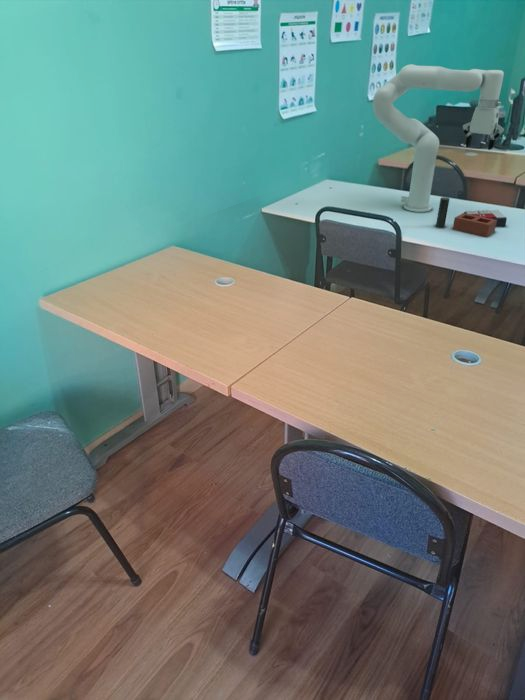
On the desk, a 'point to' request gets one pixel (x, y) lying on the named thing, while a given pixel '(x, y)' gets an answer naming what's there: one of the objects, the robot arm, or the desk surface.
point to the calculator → (490, 216)
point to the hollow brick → (474, 224)
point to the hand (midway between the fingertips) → (478, 147)
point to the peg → (442, 212)
